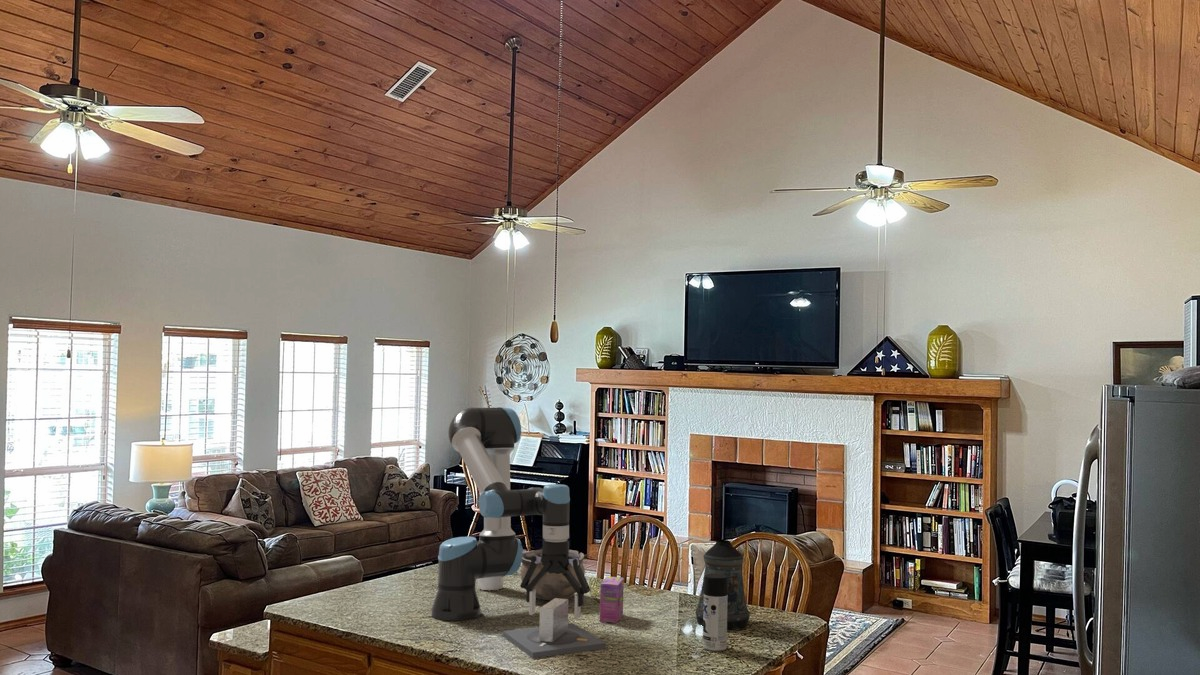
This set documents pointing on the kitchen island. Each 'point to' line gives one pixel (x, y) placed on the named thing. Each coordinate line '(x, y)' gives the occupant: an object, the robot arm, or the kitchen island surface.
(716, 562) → the beer stein
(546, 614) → the dial handle
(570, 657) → the kitchen island surface
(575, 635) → the dial plate
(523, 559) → the ceramic bowl
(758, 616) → the kitchen island surface
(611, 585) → the box
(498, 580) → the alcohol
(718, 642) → the spray can
